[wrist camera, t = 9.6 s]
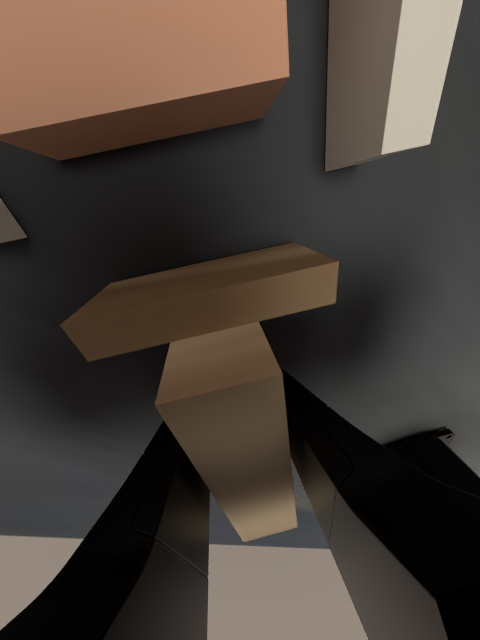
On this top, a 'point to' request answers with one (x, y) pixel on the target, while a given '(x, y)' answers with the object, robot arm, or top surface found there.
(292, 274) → the scraper
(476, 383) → the top surface
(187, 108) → the tile
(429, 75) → the corral
